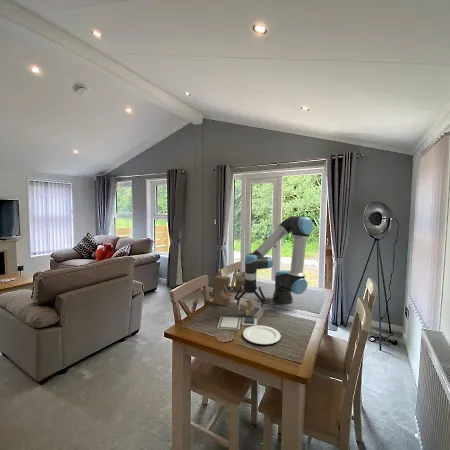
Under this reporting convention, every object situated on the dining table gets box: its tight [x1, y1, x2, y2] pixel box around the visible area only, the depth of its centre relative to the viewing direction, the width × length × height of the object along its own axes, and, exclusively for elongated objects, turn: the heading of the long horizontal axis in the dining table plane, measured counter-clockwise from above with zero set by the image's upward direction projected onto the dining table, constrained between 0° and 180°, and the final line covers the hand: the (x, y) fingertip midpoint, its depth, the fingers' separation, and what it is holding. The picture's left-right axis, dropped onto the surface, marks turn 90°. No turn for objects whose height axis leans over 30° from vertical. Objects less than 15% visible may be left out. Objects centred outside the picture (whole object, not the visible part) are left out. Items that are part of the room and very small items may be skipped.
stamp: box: [245, 298, 255, 318], centre depth 172 cm, size 5×5×10 cm
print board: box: [216, 315, 242, 331], centre depth 161 cm, size 13×16×1 cm
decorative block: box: [213, 274, 231, 307], centre depth 192 cm, size 11×6×20 cm, turn 62°
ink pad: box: [241, 316, 258, 327], centre depth 162 cm, size 9×9×2 cm
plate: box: [242, 325, 282, 346], centre depth 146 cm, size 21×21×2 cm
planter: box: [234, 271, 245, 293], centre depth 224 cm, size 16×16×14 cm
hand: (249, 310), depth 172 cm, fingers open, 13 cm apart
